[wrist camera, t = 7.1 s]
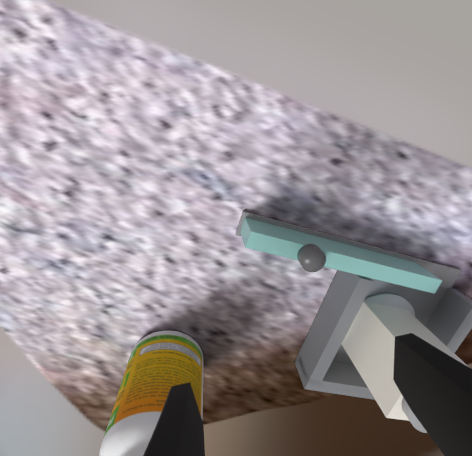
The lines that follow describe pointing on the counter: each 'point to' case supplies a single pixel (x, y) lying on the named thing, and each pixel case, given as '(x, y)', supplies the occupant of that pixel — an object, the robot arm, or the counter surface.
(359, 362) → the cream block with knob
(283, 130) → the counter surface
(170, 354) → the supplement bottle
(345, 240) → the housing
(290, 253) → the teal long flat bar
